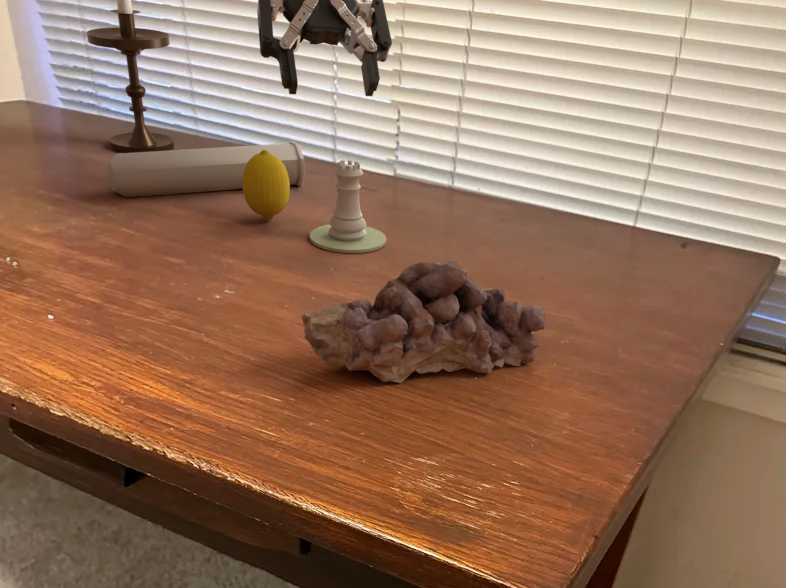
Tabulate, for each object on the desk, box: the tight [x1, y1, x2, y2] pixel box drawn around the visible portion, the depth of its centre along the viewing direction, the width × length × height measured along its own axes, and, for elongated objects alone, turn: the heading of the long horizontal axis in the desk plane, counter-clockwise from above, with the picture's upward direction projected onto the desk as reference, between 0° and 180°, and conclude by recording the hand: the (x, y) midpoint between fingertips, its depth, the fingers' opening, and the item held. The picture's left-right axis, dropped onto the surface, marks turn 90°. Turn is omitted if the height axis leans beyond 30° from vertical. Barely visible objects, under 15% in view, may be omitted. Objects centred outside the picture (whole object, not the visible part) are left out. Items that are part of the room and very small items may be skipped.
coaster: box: [309, 224, 387, 254], centre depth 95 cm, size 9×9×1 cm
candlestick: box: [86, 0, 175, 153], centre depth 110 cm, size 11×11×35 cm
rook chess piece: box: [328, 159, 367, 241], centre depth 93 cm, size 4×4×8 cm
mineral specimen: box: [301, 260, 548, 384], centre depth 69 cm, size 20×10×10 cm
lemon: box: [242, 150, 291, 222], centre depth 96 cm, size 6×6×8 cm
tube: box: [106, 140, 305, 198], centre depth 106 cm, size 5×5×25 cm
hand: (332, 90), depth 88 cm, fingers open, 8 cm apart
